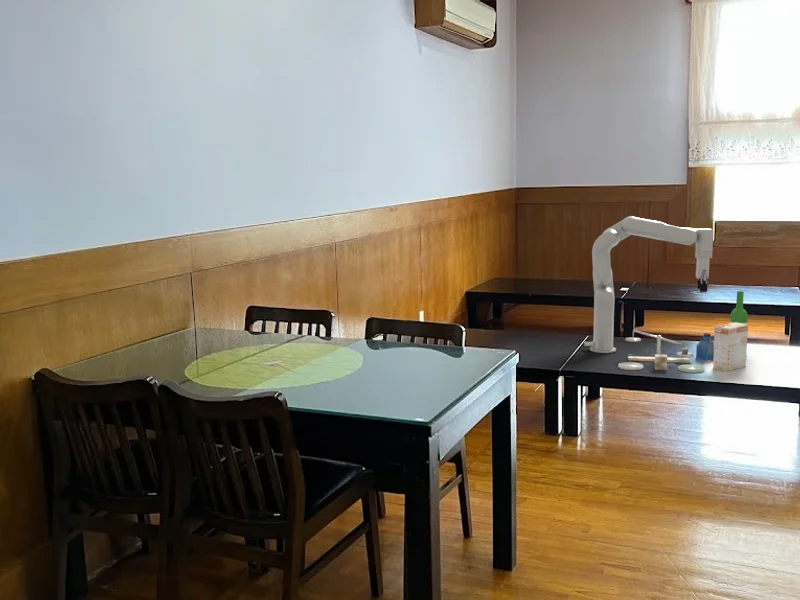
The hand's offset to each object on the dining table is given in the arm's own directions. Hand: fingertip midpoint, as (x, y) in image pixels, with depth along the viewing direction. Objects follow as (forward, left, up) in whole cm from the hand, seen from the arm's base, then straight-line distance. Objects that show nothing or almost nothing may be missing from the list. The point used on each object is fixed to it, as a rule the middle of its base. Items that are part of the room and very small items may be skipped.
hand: (702, 290), depth 381 cm
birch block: (-20, -32, -31) cm, 49 cm away
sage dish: (-7, -32, -31) cm, 45 cm away
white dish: (-33, -32, -31) cm, 56 cm away
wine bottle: (+18, +6, -31) cm, 37 cm away
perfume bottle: (+2, -9, -32) cm, 33 cm away
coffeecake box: (+10, -25, -32) cm, 41 cm away
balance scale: (-20, -17, -31) cm, 41 cm away
